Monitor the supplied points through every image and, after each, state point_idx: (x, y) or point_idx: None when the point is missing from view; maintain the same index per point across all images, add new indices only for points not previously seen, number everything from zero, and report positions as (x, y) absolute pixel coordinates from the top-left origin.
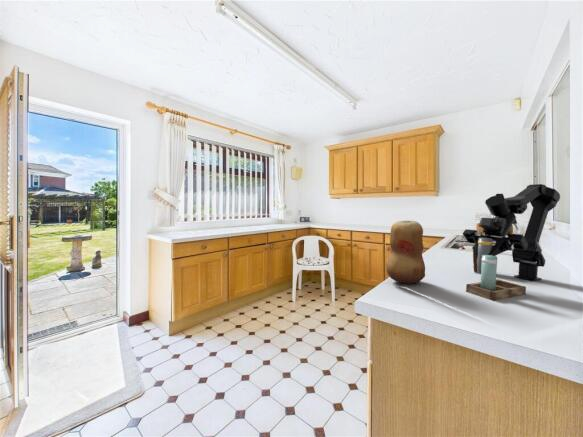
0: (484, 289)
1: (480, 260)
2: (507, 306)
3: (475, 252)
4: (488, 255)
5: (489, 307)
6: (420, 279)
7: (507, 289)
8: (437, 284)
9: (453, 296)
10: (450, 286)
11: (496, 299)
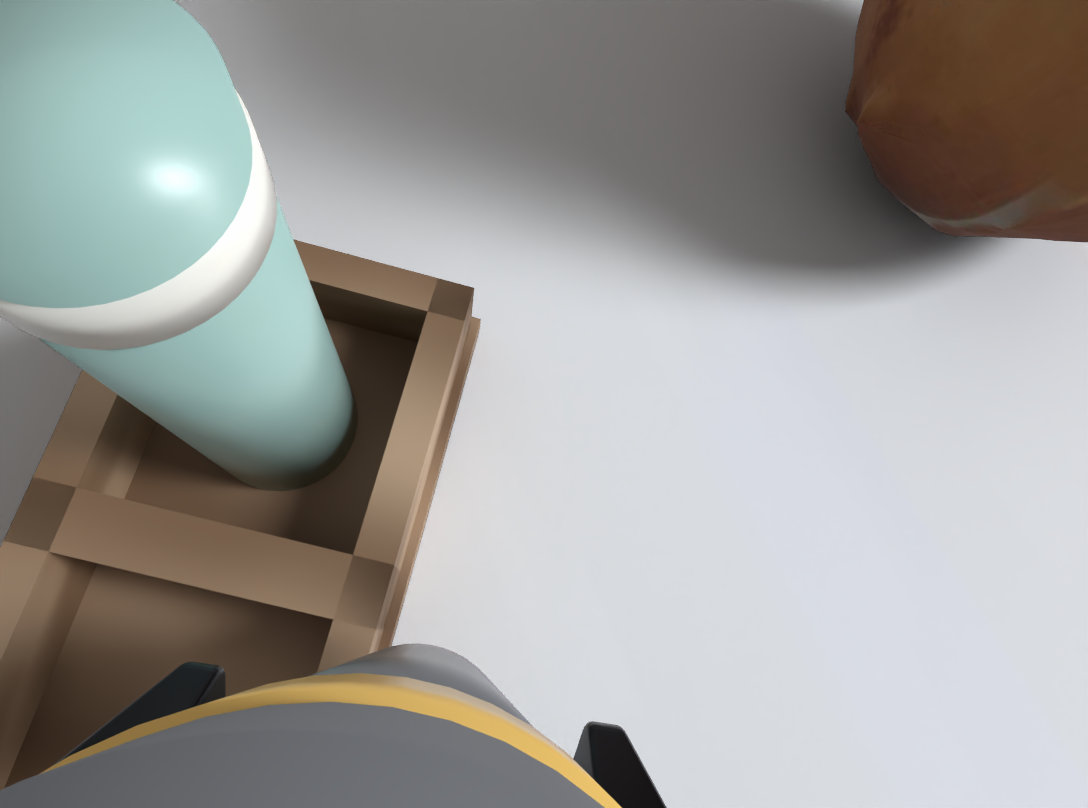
0: None
1: (437, 656)
2: None
3: (628, 758)
4: (88, 194)
5: None
6: (849, 89)
7: (49, 483)
8: (799, 421)
9: (515, 181)
10: (687, 472)
11: None
